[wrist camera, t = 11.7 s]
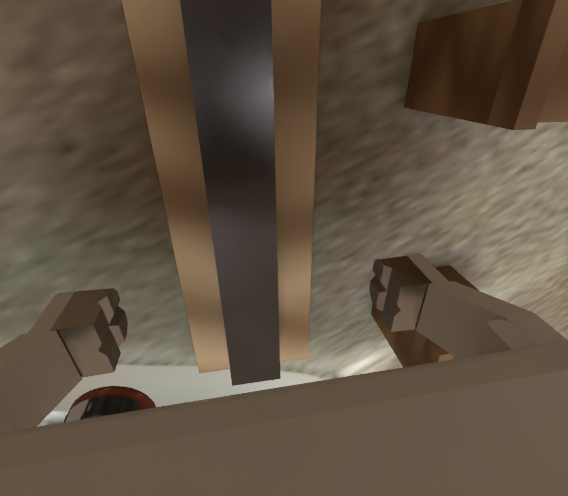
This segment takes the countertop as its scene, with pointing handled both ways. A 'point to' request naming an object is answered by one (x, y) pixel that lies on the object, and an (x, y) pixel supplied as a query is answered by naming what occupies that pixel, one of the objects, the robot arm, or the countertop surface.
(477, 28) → the post
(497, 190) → the countertop surface
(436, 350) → the post
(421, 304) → the robot arm
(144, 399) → the supplement bottle
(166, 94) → the wooden plank
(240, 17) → the rail
